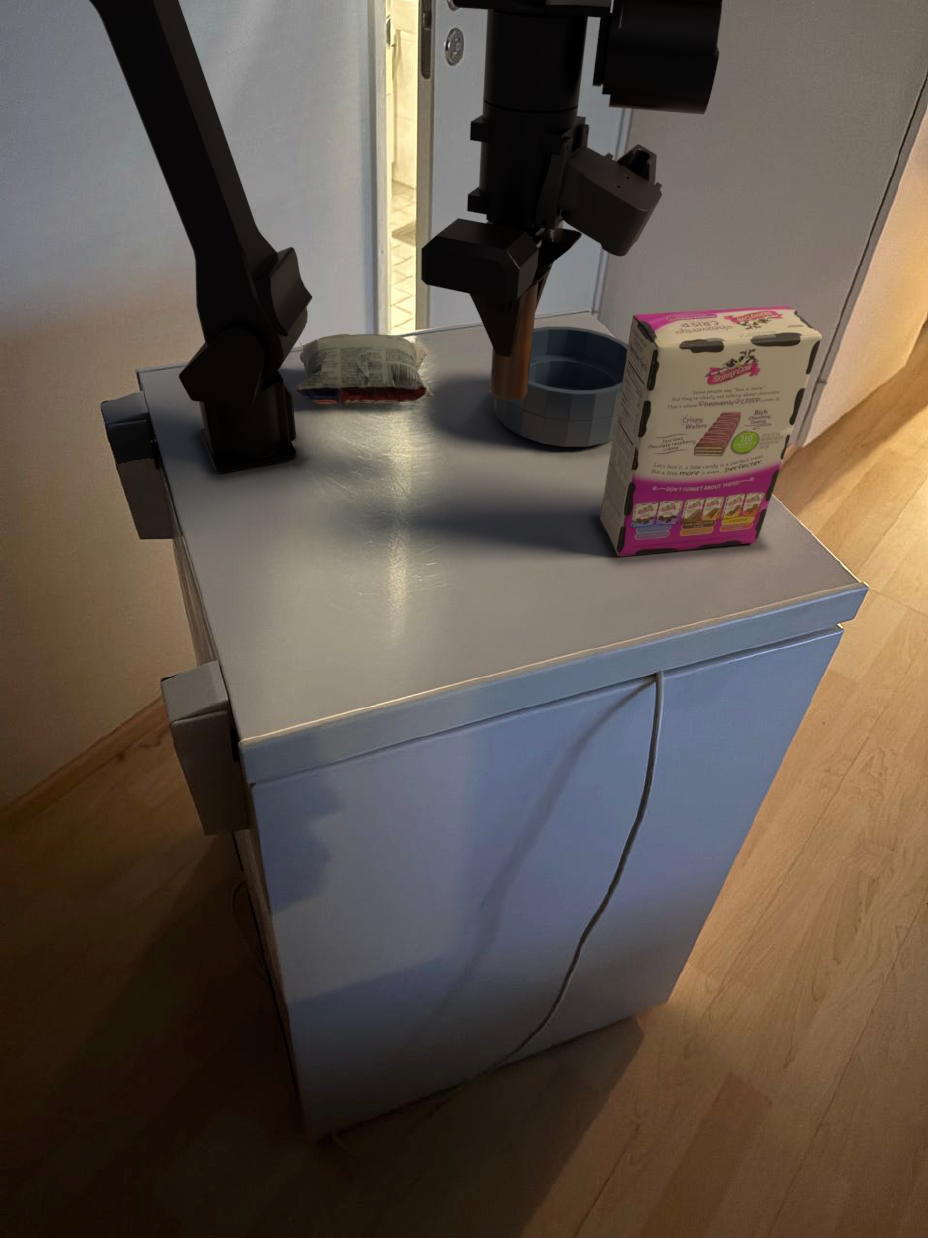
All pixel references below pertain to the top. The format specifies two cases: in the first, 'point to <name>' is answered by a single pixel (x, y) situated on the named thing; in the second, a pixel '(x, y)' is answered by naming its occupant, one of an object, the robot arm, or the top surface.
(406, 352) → the packaged food
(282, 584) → the top surface
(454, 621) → the top surface
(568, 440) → the bowl
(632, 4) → the robot arm
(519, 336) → the brown wooden cylinder
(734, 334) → the candy bar box
